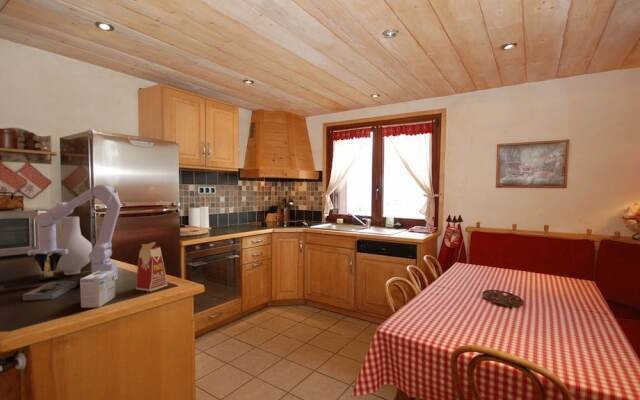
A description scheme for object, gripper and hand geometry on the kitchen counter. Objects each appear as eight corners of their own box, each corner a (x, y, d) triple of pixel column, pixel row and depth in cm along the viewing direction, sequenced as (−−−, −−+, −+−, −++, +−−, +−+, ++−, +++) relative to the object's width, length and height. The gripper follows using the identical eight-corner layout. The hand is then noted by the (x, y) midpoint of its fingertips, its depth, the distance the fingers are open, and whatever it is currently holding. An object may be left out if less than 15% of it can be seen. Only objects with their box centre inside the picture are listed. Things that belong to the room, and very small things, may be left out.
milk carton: (167, 285, 141) (167, 240, 140) (150, 291, 132) (149, 243, 131) (151, 283, 144) (151, 239, 143) (133, 289, 135) (132, 242, 134)
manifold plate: (76, 286, 138) (76, 281, 138) (52, 299, 122) (52, 293, 122) (50, 287, 137) (50, 282, 136) (22, 300, 121) (22, 294, 121)
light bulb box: (98, 297, 125) (97, 270, 124) (116, 297, 125) (115, 270, 125) (79, 308, 114) (79, 278, 114) (99, 307, 115) (99, 278, 114)
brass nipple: (55, 274, 142) (55, 259, 141) (50, 276, 138) (50, 260, 138) (47, 275, 141) (46, 259, 141) (42, 277, 138) (41, 261, 138)
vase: (42, 275, 154) (41, 217, 153) (79, 267, 169) (78, 215, 168) (64, 279, 148) (62, 219, 147) (100, 270, 163) (99, 216, 162)
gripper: (21, 242, 134) (23, 273, 135) (60, 241, 136) (61, 272, 137) (33, 239, 141) (35, 269, 141) (70, 238, 143) (71, 268, 144)
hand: (48, 270), depth 140 cm, fingers closed on brass nipple, 3 cm apart
